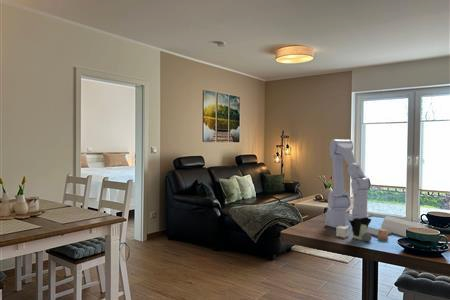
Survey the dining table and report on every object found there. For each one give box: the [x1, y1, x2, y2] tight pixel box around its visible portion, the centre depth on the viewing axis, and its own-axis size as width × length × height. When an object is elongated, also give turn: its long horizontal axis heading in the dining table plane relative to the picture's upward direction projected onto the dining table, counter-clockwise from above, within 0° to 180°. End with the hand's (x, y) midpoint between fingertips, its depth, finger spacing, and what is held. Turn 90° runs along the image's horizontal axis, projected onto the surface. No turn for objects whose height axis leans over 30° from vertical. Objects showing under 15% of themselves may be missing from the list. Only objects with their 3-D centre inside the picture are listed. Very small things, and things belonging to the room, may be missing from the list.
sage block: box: [352, 224, 367, 241], centre depth 144 cm, size 4×4×6 cm
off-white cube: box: [335, 226, 350, 239], centre depth 147 cm, size 4×4×4 cm
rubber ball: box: [362, 233, 372, 243], centre depth 139 cm, size 4×4×4 cm
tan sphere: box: [377, 228, 389, 241], centre depth 143 cm, size 4×4×4 cm
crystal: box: [380, 215, 430, 238], centre depth 150 cm, size 7×7×24 cm
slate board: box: [351, 226, 393, 238], centre depth 154 cm, size 14×10×1 cm
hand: (359, 234), depth 144 cm, fingers closed on sage block, 4 cm apart
